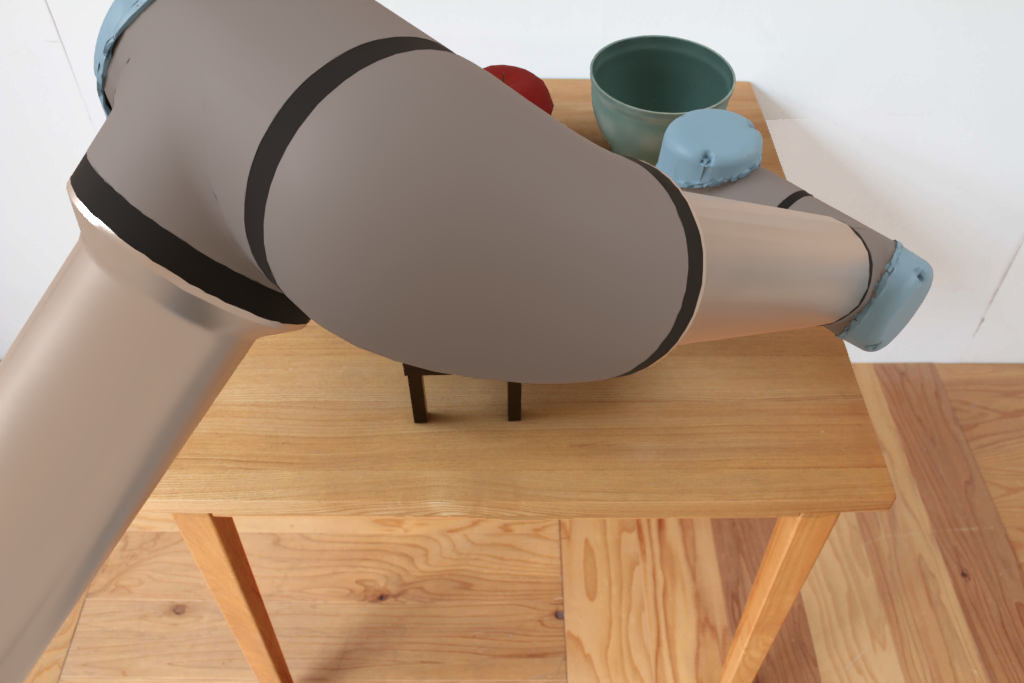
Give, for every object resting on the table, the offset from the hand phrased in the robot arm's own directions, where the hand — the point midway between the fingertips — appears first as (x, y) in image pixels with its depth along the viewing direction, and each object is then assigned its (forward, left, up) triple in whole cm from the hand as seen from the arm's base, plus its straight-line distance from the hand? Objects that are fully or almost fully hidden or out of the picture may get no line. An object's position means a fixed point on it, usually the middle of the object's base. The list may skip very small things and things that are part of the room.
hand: (383, 173), depth 85 cm
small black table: (-8, -19, -10) cm, 23 cm away
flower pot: (+32, -10, -10) cm, 35 cm away
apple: (+19, +2, -10) cm, 22 cm away
